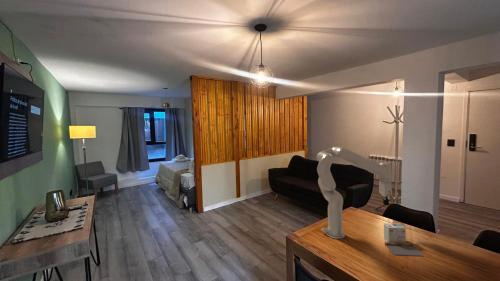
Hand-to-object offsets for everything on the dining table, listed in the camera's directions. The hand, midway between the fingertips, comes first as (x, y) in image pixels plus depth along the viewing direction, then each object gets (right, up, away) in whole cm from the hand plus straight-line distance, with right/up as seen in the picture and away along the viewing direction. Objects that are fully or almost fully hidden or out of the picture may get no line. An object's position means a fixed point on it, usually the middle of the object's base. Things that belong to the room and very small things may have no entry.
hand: (386, 204), depth 153 cm
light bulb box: (-2, -21, -11) cm, 24 cm away
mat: (-3, -22, -22) cm, 31 cm away
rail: (-2, -21, -16) cm, 27 cm away
